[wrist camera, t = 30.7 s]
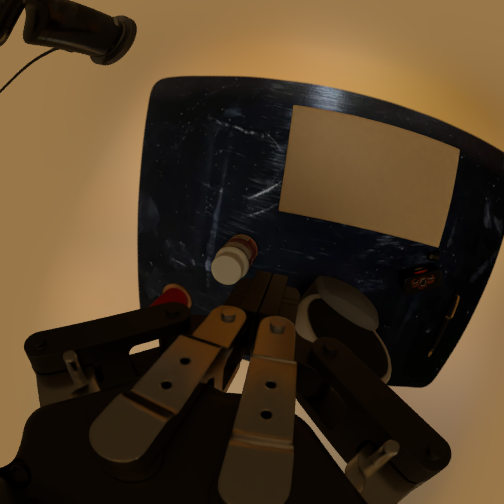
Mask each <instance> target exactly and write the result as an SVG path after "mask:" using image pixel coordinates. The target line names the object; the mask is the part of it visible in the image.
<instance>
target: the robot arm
mask: <svg viewBox="0 0 504 504" xmlns="http://www.w3.org/2000/svg"><path fill="white" fill-rule="evenodd" d="M24 8H25V10H26V20H25V26H24V31H23V39H24V41H25V43H27V44H32V45H40V46H47V47H53V48H52V49H51V50H49V51H47V52H45V53H43V54H41V55H40V56H38V57H37V58H35V59H33V60H32V61H31V62H29V63H28V64H27V65H26V66H25V67H23V69H21V70H20V71H19V72H18V73H17V74H16V75H15V76H14V77H13V78H12V79H11V80H10V81H9V82H8V83H7V84H6V85H5V86H4V87H3V88H2V89H1V90H0V93H1V92H2V91H3V90H4V89H5V88H6V87H7V86H8V85H9V84H10V83H11V82H12V81H13V80H14V79H15V78H16V77H17V76H18V75H19V74H20V73H21V72H22V71H23V70H25V69H26V68H27V67H28V66H30V65H31V64H32V63H33V62H35V61H37V60H38V59H40V58H41V57H43V56H45V55H47V54H49V53H51V52H53V51H55V50H59V49H62V50H66V51H68V52H77V53H82V54H86V55H90V56H94V57H96V58H100V59H102V58H106V57H108V56H110V55H111V54H113V53H114V52H115V51H116V50H117V49H118V47H119V46H120V45H121V43H122V42H123V40H124V37H125V34H126V24H125V23H124V22H123V21H121V20H119V19H117V18H116V17H111V16H109V15H107V14H104V13H102V12H100V11H97V10H95V9H92V8H89V7H87V6H84V5H81V4H79V3H76V2H73V1H70V0H0V46H2V45H3V44H4V43H5V42H6V40H7V39H8V37H9V36H10V34H11V32H12V30H13V27H14V26H15V24H16V22H17V20H18V18H19V16H20V15H21V13H22V11H23V9H24ZM287 280H288V276H283V275H278V274H273V276H272V273H268V272H263V271H257V273H256V275H255V277H254V279H248V278H244V279H242V280H240V281H238V283H237V284H236V286H235V288H234V289H233V291H232V293H231V294H230V296H229V297H228V299H227V301H226V302H225V304H224V305H222V306H218V307H216V308H214V309H213V310H212V311H211V312H210V313H209V315H207V316H199V315H191V312H190V309H189V307H188V306H186V305H185V304H183V303H179V302H167V303H163V304H159V305H155V306H151V307H147V308H142V309H138V310H134V311H130V312H126V313H122V314H117V315H113V316H109V317H105V318H100V319H96V320H92V321H87V322H83V323H78V324H73V325H69V326H64V327H60V328H55V329H51V330H46V331H40V332H36V333H34V334H32V335H31V336H29V337H28V338H27V340H26V341H25V344H24V350H25V352H26V354H27V356H28V358H29V360H30V362H31V364H32V368H33V370H34V372H35V374H36V378H37V387H38V394H39V401H40V408H39V409H37V410H36V411H35V412H33V413H32V414H31V416H30V417H29V418H28V420H27V422H26V424H25V427H24V431H23V436H22V441H21V444H20V447H19V450H18V452H17V455H16V457H15V458H14V460H13V461H12V462H11V463H10V464H8V465H6V466H4V467H1V468H0V504H397V503H398V502H400V501H401V500H402V499H403V498H404V497H405V496H406V495H408V494H409V493H410V492H411V491H412V490H414V489H415V488H417V487H418V486H420V485H422V484H423V483H424V482H426V481H427V480H429V479H430V478H432V477H433V476H434V475H436V474H437V473H439V472H440V471H441V470H443V469H444V468H445V467H446V466H447V465H448V464H449V462H450V459H451V449H450V446H449V444H448V443H447V442H446V441H445V439H443V438H442V437H441V436H440V435H439V434H438V433H437V432H436V431H435V430H434V429H433V428H432V427H431V426H430V425H429V424H427V423H426V422H425V421H424V420H423V419H422V418H421V417H420V416H419V415H418V414H417V413H416V412H415V411H414V410H413V409H412V408H411V407H409V406H408V404H406V403H405V402H404V401H403V400H402V399H401V398H400V397H399V396H398V395H397V394H396V393H395V392H394V391H393V390H392V389H391V388H390V387H389V386H387V385H386V384H385V383H384V382H383V381H382V380H381V379H380V378H379V377H378V376H377V375H376V374H375V373H374V372H373V371H372V370H371V369H370V368H369V367H368V366H366V365H365V364H364V363H363V362H362V361H361V360H360V359H359V358H358V357H357V356H356V355H355V354H354V353H353V352H352V351H351V350H350V349H349V348H348V347H347V346H345V345H344V344H343V343H342V342H341V341H339V340H337V339H334V338H330V337H322V338H318V339H316V340H315V341H314V342H311V341H309V340H307V339H305V338H303V337H302V336H300V335H299V334H298V332H297V331H296V329H295V323H296V317H297V311H298V305H299V298H300V294H299V292H298V290H297V288H292V287H287V286H286V285H287ZM156 339H159V347H156V348H152V349H149V350H145V351H142V352H139V353H135V354H131V355H129V351H130V350H131V348H132V347H134V346H136V345H139V344H142V343H146V342H150V341H153V340H156ZM252 349H253V350H252ZM251 351H252V355H251V359H250V363H249V367H248V371H247V375H246V380H245V383H244V387H243V391H242V394H236V393H226V392H227V390H228V388H229V386H230V384H231V383H232V381H233V379H234V377H235V375H236V373H237V371H238V369H239V367H240V362H241V360H242V358H243V356H244V355H248V356H250V354H251ZM332 388H333V389H332ZM339 396H340V397H341V398H340V397H339ZM296 399H297V401H298V402H299V403H300V405H301V406H302V407H303V409H304V410H305V411H306V413H307V414H308V415H309V417H310V418H311V419H312V420H313V422H314V423H315V424H316V426H317V427H318V428H319V430H320V431H321V432H322V433H323V434H324V436H325V437H326V438H327V440H328V441H329V442H330V444H331V445H332V446H333V447H334V448H335V450H336V451H337V452H338V453H339V455H340V456H341V457H342V458H343V459H344V461H345V462H346V463H347V465H346V467H345V474H344V472H343V471H342V470H341V468H340V467H339V466H338V464H337V463H336V462H335V461H334V459H333V458H332V456H331V455H330V454H329V452H328V451H327V450H326V448H325V447H324V445H323V444H322V443H321V441H320V440H319V438H318V437H317V436H316V435H315V433H314V432H313V430H312V429H311V427H310V426H309V425H308V424H307V423H306V422H305V421H304V420H302V419H301V418H300V417H298V416H297V415H296V414H295V400H296Z"/></svg>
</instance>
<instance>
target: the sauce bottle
mask: <svg viewBox="0 0 504 504" xmlns="http://www.w3.org/2000/svg"><path fill="white" fill-rule="evenodd" d="M167 302H179V303H183V304H185V305H186V306H187V305H188V299H187V297H186V295H185V294H184V292H183V291H181V290H180V289H178V288H174V287H172V288H169V289H167V290H166V291H165V292H164V293H163V294H162V295H161V296H160V297H159V298H158V299H157V300H156V301H155V302H154V303H153V304H152V305H151V306H155V305H159V304H163V303H167ZM151 306H150V307H151Z"/></svg>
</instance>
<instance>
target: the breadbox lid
mask: <svg viewBox="0 0 504 504" xmlns="http://www.w3.org/2000/svg"><path fill="white" fill-rule="evenodd" d="M459 152H460V150H459V149H457V148H455V147H452V146H450V145H447V144H445V143H442V142H440V141H437V140H434V139H432V138H429V137H426V136H423V135H420V134H417V133H414V132H411V131H408V130H405V129H402V128H398V127H395V126H392V125H388V124H385V123H381V122H377V121H373V120H369V119H365V118H361V117H357V116H353V115H348V114H343V113H338V112H333V111H328V110H322V109H317V108H310V107H304V106H297V105H294V106H293V112H292V120H291V127H290V135H289V142H288V149H287V156H286V163H285V170H284V177H283V183H282V190H281V197H280V203H279V211H283V212H288V213H293V214H298V215H303V216H308V217H313V218H318V219H323V220H327V221H332V222H337V223H341V224H346V225H350V226H355V227H359V228H363V229H368V230H372V231H376V232H380V233H384V234H389V235H393V236H397V237H401V238H405V239H408V240H412V241H416V242H420V243H424V244H427V245H431V246H435V247H438V246H439V243H440V240H441V236H442V233H443V229H444V226H445V222H446V218H447V214H448V210H449V206H450V202H451V197H452V193H453V188H454V183H455V177H456V172H457V165H458V159H459Z"/></svg>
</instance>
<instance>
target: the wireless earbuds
mask: <svg viewBox="0 0 504 504" xmlns="http://www.w3.org/2000/svg"><path fill="white" fill-rule="evenodd" d="M438 255H439V251H438V250H437V251H435V254H428V255H427V259H428V260H430V261H438V259H439V256H438ZM399 276H400V285H401V287H402V289H403V291H404V293H405V294H406V295H410V294H414V293H417V292H421V291H425V290H428V289H432V288H435V287H438V286H440V285H441V271H440V270H439V269H438V268H437V266H436V265H435V264H434V263H430V264H426V265H422V266H418V267H415V268H411V269H407V270H403V271H401V272H400V274H399Z"/></svg>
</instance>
